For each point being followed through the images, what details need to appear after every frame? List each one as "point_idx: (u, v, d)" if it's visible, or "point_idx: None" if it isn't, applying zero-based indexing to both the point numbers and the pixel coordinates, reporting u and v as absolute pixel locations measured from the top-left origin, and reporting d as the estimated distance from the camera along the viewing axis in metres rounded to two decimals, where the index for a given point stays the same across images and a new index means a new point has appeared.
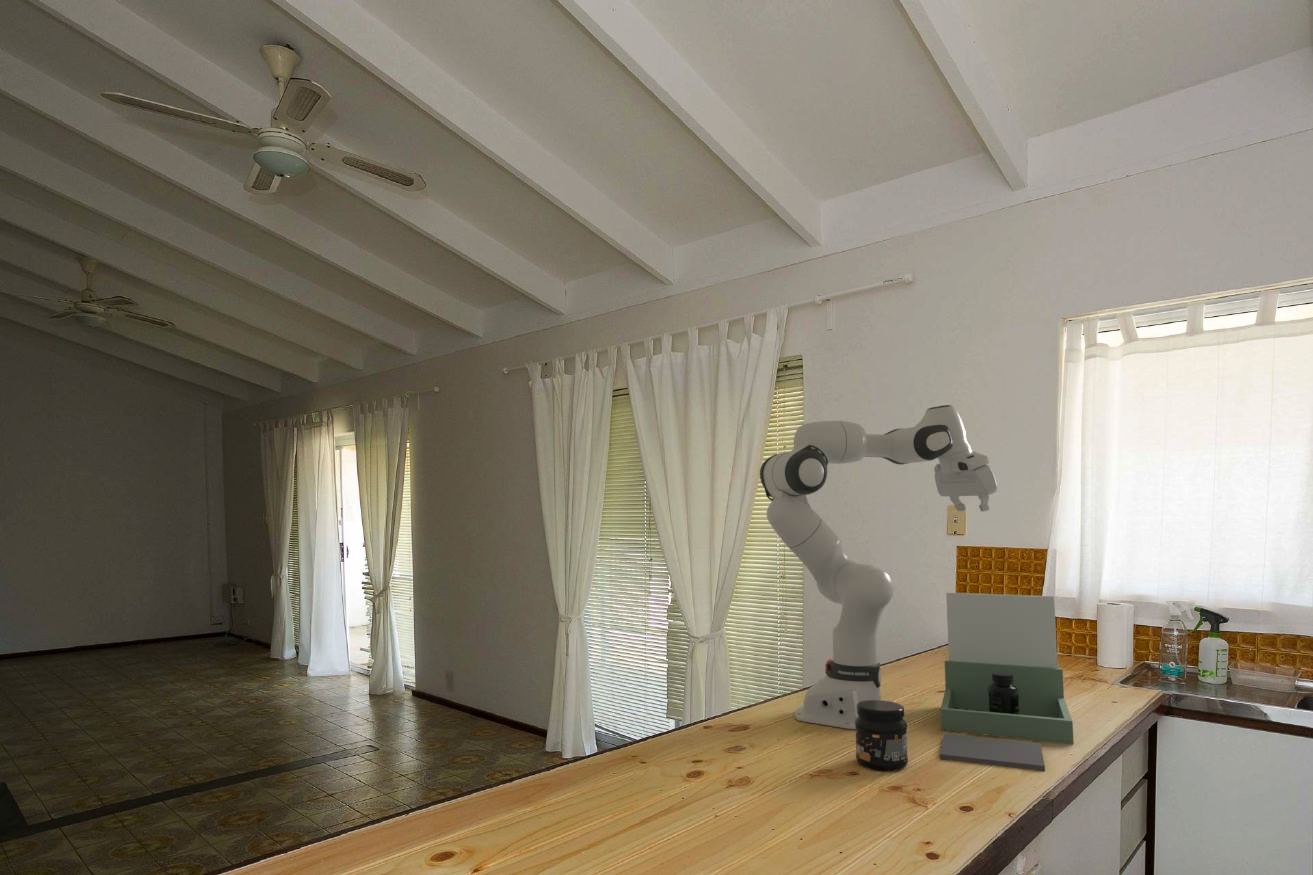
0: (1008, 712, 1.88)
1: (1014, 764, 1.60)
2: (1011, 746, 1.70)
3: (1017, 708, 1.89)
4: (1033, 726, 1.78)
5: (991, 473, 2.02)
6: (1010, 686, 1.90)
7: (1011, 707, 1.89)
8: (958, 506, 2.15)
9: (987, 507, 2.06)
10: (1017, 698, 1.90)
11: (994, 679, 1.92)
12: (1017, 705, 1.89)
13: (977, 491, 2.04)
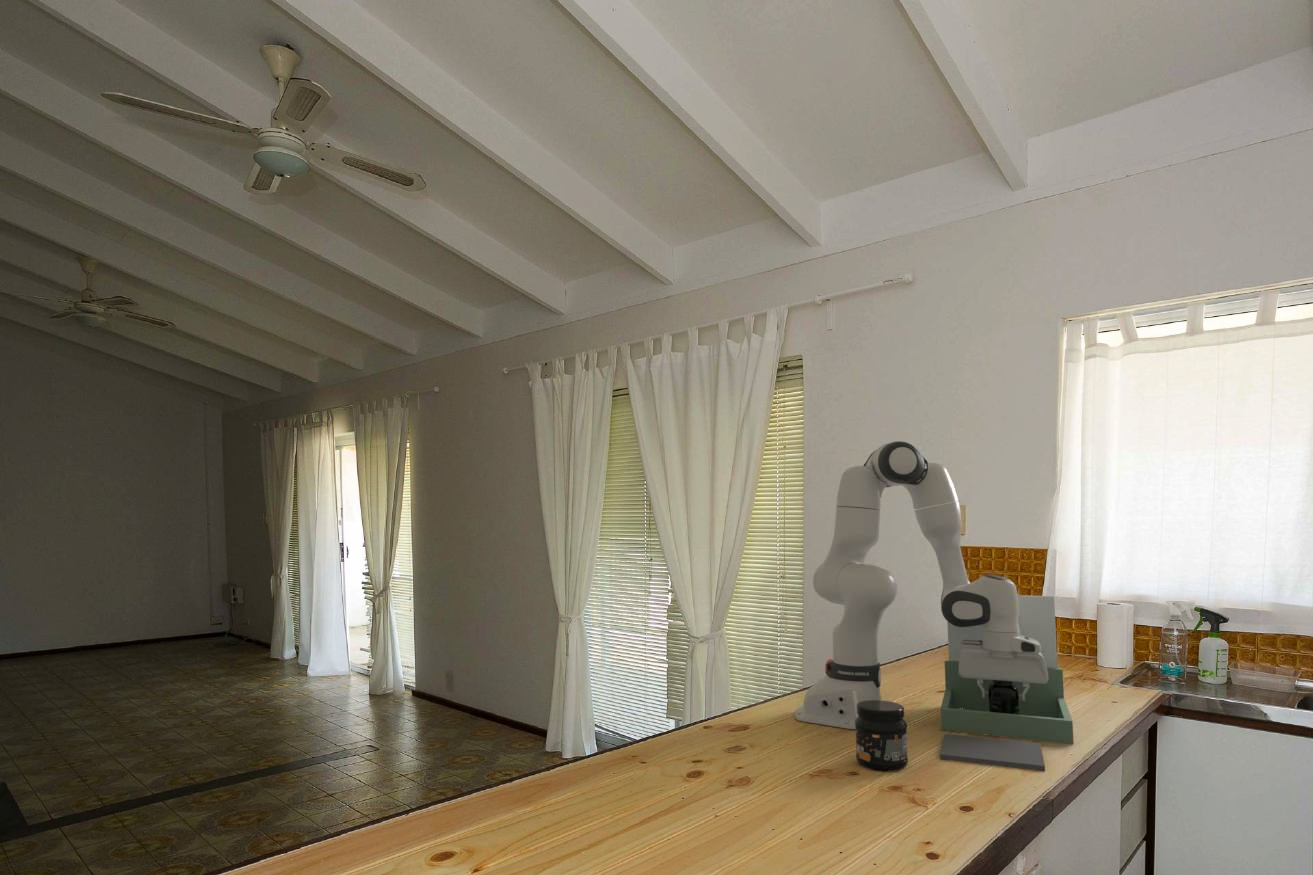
0: (1008, 712, 1.88)
1: (1014, 764, 1.60)
2: (1011, 746, 1.70)
3: (1017, 708, 1.89)
4: (1033, 726, 1.78)
5: None
6: (1010, 686, 1.90)
7: (1011, 707, 1.89)
8: (986, 692, 1.92)
9: None
10: (1017, 698, 1.90)
11: None
12: (1017, 705, 1.89)
13: (1032, 677, 1.88)
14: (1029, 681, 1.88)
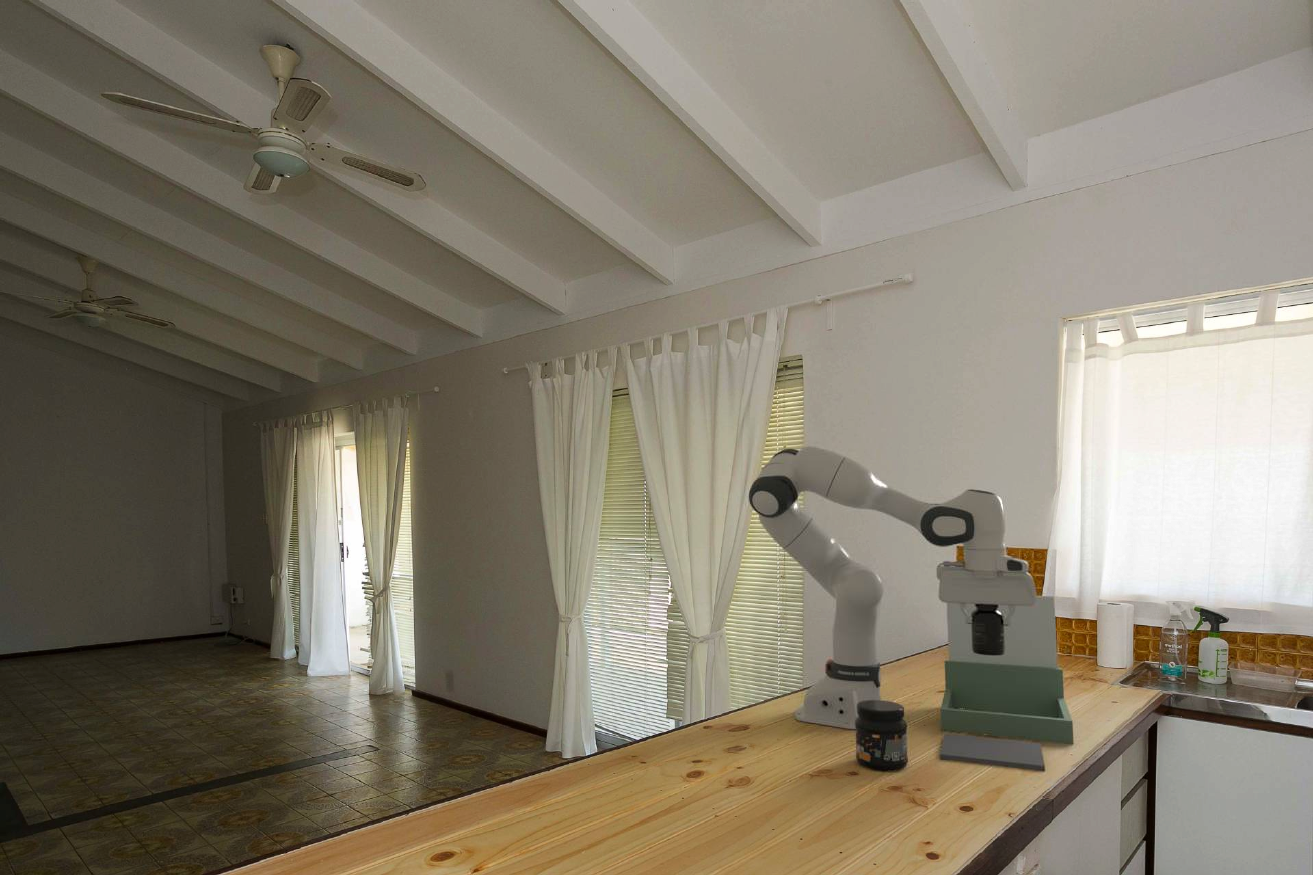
0: (992, 639, 1.71)
1: (1014, 764, 1.60)
2: (1011, 746, 1.70)
3: (1002, 635, 1.72)
4: (1033, 726, 1.78)
5: None
6: (995, 611, 1.73)
7: (996, 634, 1.71)
8: (969, 618, 1.74)
9: None
10: (1002, 624, 1.72)
11: (977, 604, 1.74)
12: (1002, 632, 1.72)
13: (1018, 599, 1.70)
14: (1016, 604, 1.70)
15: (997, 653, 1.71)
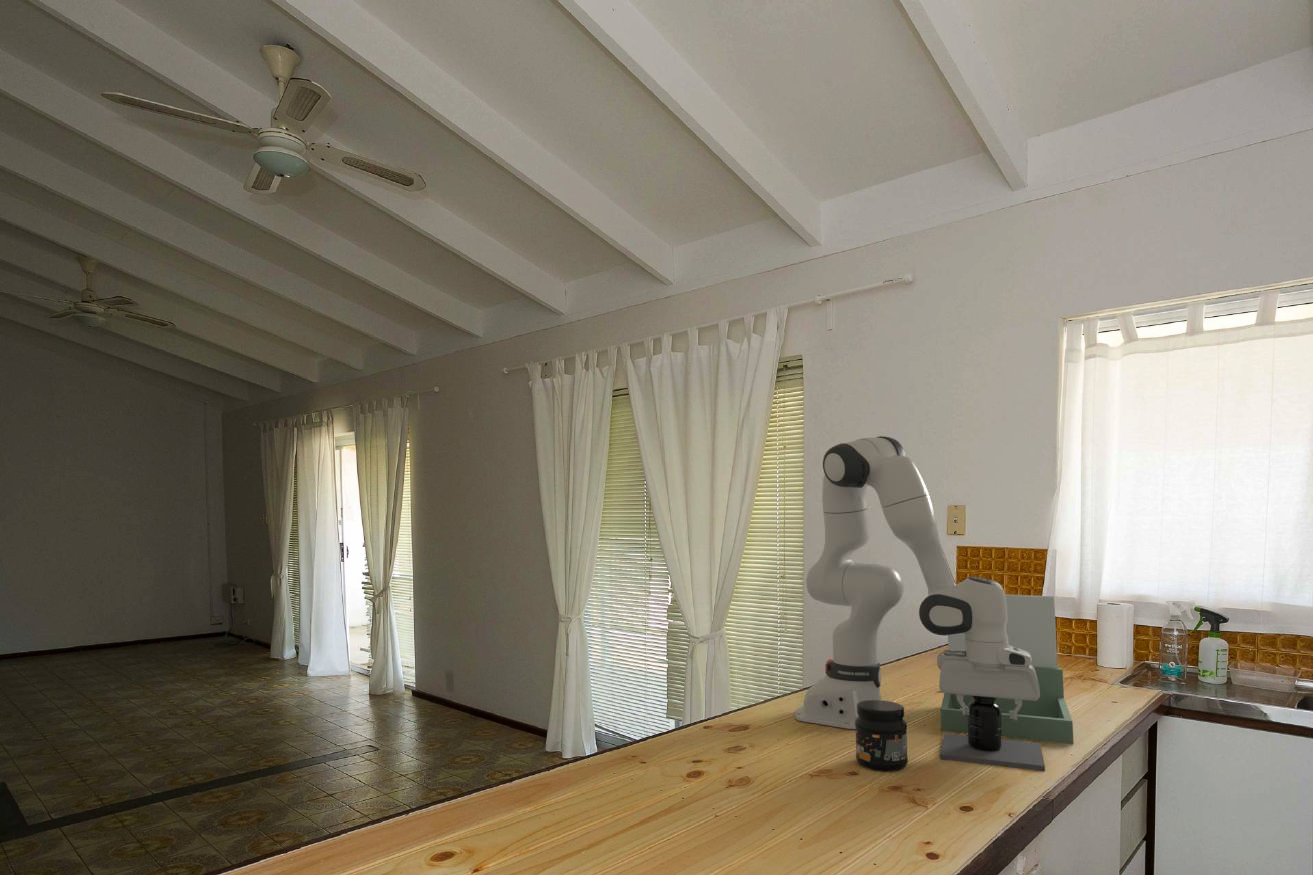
0: (988, 734, 1.67)
1: (1014, 764, 1.60)
2: (1011, 746, 1.70)
3: (999, 730, 1.68)
4: (1033, 726, 1.78)
5: None
6: (993, 704, 1.69)
7: (993, 729, 1.67)
8: (966, 710, 1.71)
9: None
10: (1000, 718, 1.68)
11: (975, 696, 1.71)
12: (999, 726, 1.68)
13: (1021, 693, 1.66)
14: (1018, 698, 1.66)
15: (993, 748, 1.67)
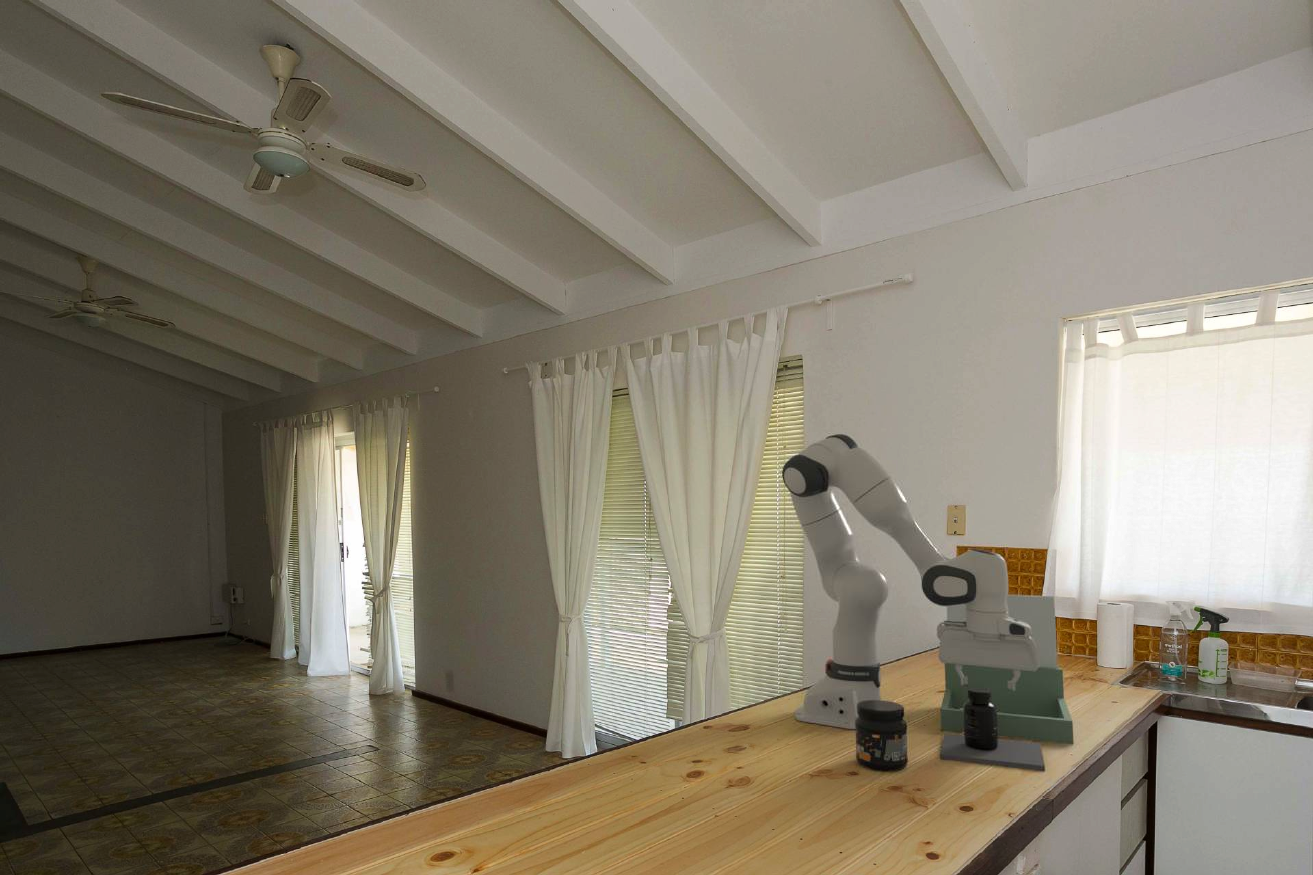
0: (985, 734, 1.68)
1: (1014, 764, 1.60)
2: (1011, 746, 1.70)
3: (995, 729, 1.69)
4: (1033, 726, 1.78)
5: None
6: (988, 704, 1.69)
7: (989, 728, 1.68)
8: (965, 679, 1.72)
9: None
10: (995, 718, 1.69)
11: (970, 696, 1.71)
12: (995, 726, 1.69)
13: (1020, 664, 1.67)
14: (1017, 668, 1.67)
15: (990, 748, 1.68)
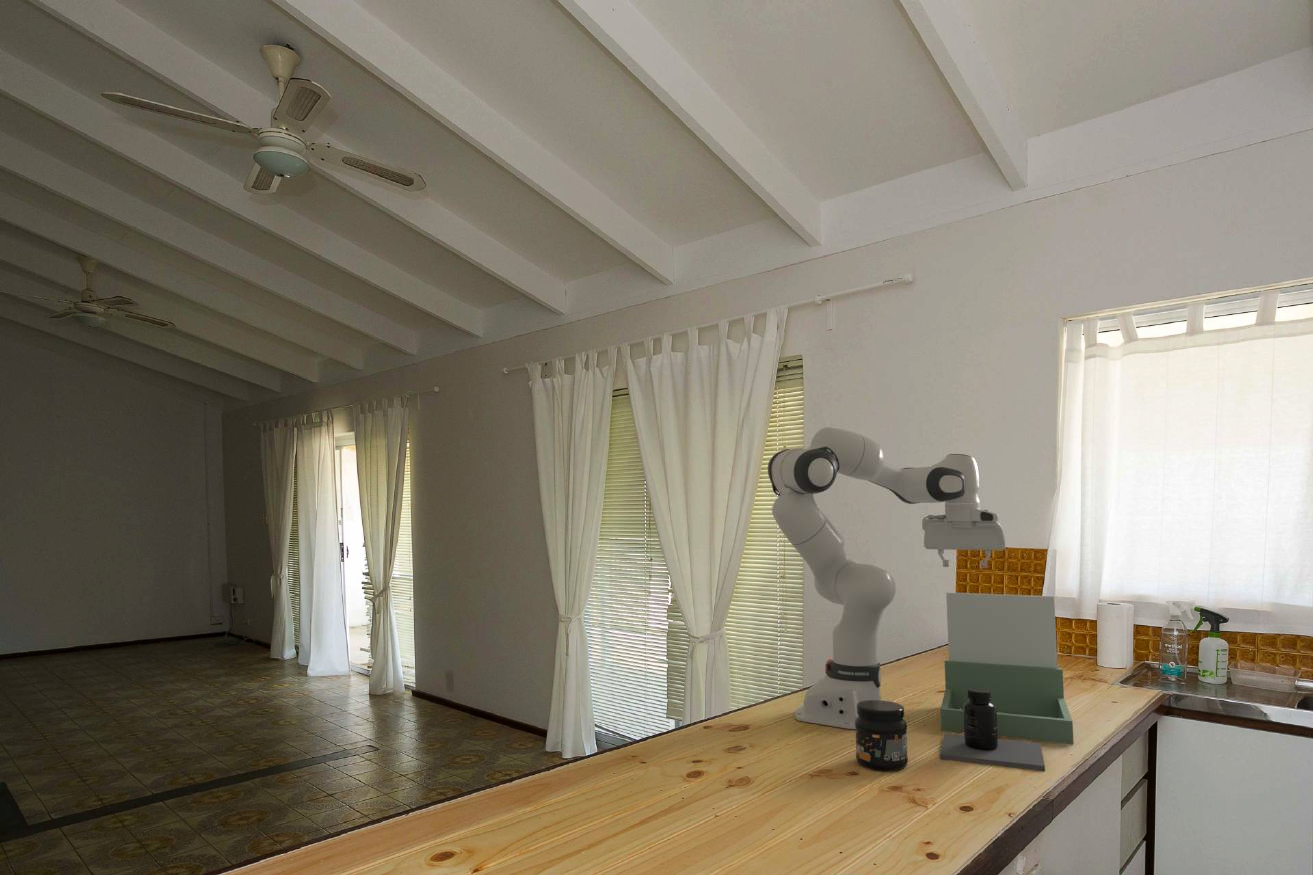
0: (985, 734, 1.68)
1: (1014, 764, 1.60)
2: (1011, 746, 1.70)
3: (995, 729, 1.69)
4: (1033, 726, 1.78)
5: None
6: (988, 704, 1.69)
7: (989, 728, 1.68)
8: (946, 561, 2.08)
9: None
10: (995, 718, 1.69)
11: (970, 696, 1.71)
12: (995, 726, 1.69)
13: (990, 545, 2.03)
14: (988, 548, 2.03)
15: (990, 748, 1.68)
